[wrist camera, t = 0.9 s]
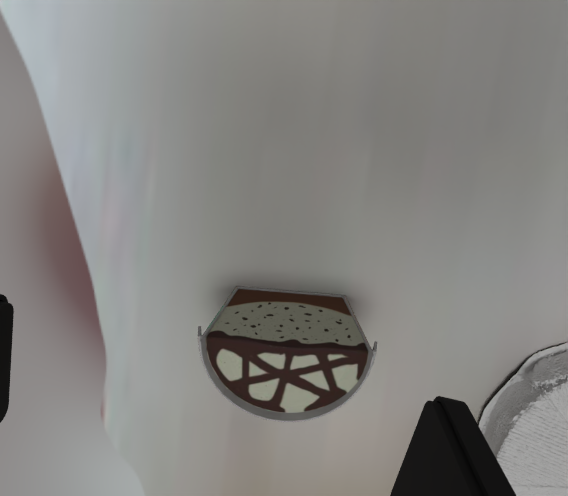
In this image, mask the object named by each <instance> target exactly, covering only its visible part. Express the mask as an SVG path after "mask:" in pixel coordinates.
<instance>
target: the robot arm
mask: <svg viewBox="0 0 568 496" xmlns="http://www.w3.org/2000/svg"><path fill="white" fill-rule="evenodd" d="M12 331H13V306H12V305H11V304H10V303H8V301H7V298H6V297H5V296H4V295H1V294H0V422H1V421H2V420H3V418H4V417H5V414H6V412H7V409H8V404H9V387H10V368H11V349H12ZM390 496H516V494H515V492H514V490H513V488H512V487H511V485H510V483H509V481H508V479H507V477H506V476H505V474H504V472H503V470H502V468H501V466H500V465H499V463H498V461H497V459H496V457H495V456H494V454H493V452H492V450H491V448H490V446H489V445H488V443H487V441H486V439H485V437H484V435H483V434H482V432H481V430H480V428H479V426H478V424H477V423H476V421H475V419H474V417H473V415H472V413H471V412H470V410H469V408H468V406H467V405H466V403H465V402H462V401H458V400H454V399H449V398H445V397H441V396H438V397H436V398H435V399H434V401H427V402H426V404H425V406H424V408H423V411H422V413H421V416H420V418H419V421H418V424H417V426H416V429H415V432H414V434H413V437H412V439H411V442H410V445H409V447H408V450H407V452H406V455H405V458H404V460H403V463H402V466H401V468H400V471H399V473H398V476H397V479H396V481H395V484H394V487H393V489H392V492H391V495H390Z"/></svg>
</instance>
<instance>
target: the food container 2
mask: <svg viewBox="0 0 568 496" xmlns="http://www.w3.org/2000/svg"><path fill="white" fill-rule="evenodd" d="M479 428H480V430H481V432H482V434H483V435H484V437H485V439H486V441H487V443H488V445H489V446H490V448H491V450H492V452H493V454H494V456H495V457H496V459H497V461H498V463H499V465H500V466H501V468H502V470H503V472H504V474H505V476H506V477H507V479H508V481H509V483H510V485H511V487H512V488H513V490H514V492H515V494H516V496H568V342H567V343H565V344H562V345H560V346H557V347H555V346H554V347H552V348H549V349H547V350H546V349H545V350H543V351H539V352H538V353H537V354H534V355H533V356H532V357H530V358H529V359H528V360H527V361H526V363H524V365H523V366H522V367H521V368H520V370H519V371H518V372H517V374H516V375H514V376H513V377H512V378H511V379H510V380H509V381H508V382H507V383H506V385H505V386H503V387H502V389H501V390H500V391H499V392H498V393H497V394H496V395H495V396H494V397H493V399H492V400H491V401H490V403H489V404H488V405H487V407H486V408H485V409H484V412H483V415H482V417H481V420H480V422H479Z"/></svg>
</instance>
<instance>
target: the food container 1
mask: <svg viewBox="0 0 568 496" xmlns="http://www.w3.org/2000/svg"><path fill="white" fill-rule="evenodd" d="M198 345H199V351H200V356H201V360H202V362H203V365H204V367H205V370H206V372H207V374H208V376H209V378H210V380H211V381H212V383H213V384H214V386H215V387H216V388H217V390H218V391H219V392H220V393H221V394H222V395H223V396H224V397H225V398H226V399H227V400H228V401H230V402H231V403H232V404H233V405H235V406H237V407H238V408H240V409H241V410H243V411H245V412H247V413H249V414H252V415H254V416H256V417H260V418H263V419H266V420H272V421H278V422H299V421H307V420H311V419H315V418H319V417H321V416H324V415H326V414H329V413H331V412H333V411H334V410H336V409H338V408H339V407H341V406H342V405H344V404H345V403H346V402H347V401H349V400H350V399H351V398H352V397H353V396H354V395H355V394H356V393H357V391H358V390H359V389H360V388H361V386H362V385H363V383H364V381H365V380H366V378H367V376H368V375H369V372H370V370H371V368H372V366H373V363H374V359H375V355H376V349H377V342H376V341H375V343H374V347H373V350H372V349H371V347H370V345H369V343H368V341H367V339H366V337H365V335H364V333H363V331H362V329H361V327H360V325H359V323H358V321H357V319H356V317H355V315H354V312H353V310H352V308H351V306H350V304H349V302H348V300H347V298H346V296H345V295H337V294H325V293H313V292H301V291H289V290H277V289H265V288H253V287H242V286H236V288H235V289H234V291H233V292H232V294H231V295H230V296H229V298H228V299H227V301H226V302H225V304H224V305H223V306H222V308H221V309H220V311H219V312H218V314H217V315H216V317H215V318H214V319H213V321H212V322H211V324H210V325H209V327H208V328H207V329H206V331H205V332H204V334H203V335H201V326H198Z"/></svg>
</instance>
